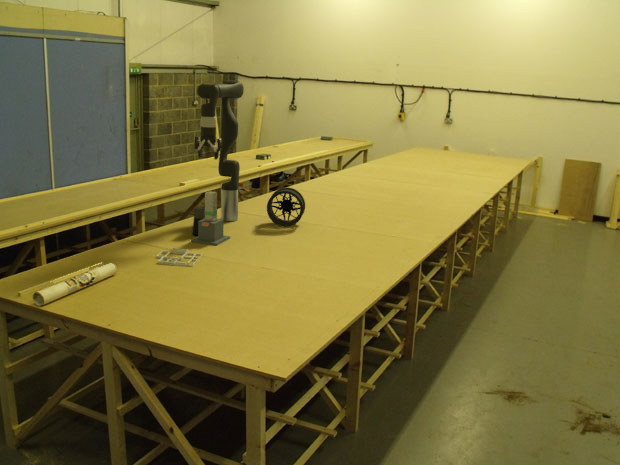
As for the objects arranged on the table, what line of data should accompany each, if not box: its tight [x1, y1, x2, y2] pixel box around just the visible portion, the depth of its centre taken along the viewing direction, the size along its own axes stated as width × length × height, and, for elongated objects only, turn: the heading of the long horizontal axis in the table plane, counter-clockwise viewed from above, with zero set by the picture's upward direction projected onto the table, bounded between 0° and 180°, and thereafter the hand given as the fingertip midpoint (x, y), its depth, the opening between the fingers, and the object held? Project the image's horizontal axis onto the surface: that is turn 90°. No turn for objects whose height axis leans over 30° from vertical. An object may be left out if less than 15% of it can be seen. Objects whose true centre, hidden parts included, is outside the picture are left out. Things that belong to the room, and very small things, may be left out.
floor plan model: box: [155, 247, 203, 267], centre depth 273 cm, size 19×25×2 cm
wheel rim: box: [266, 186, 306, 228], centre depth 333 cm, size 20×9×20 cm, turn 84°
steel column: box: [204, 190, 218, 222], centre depth 298 cm, size 4×4×16 cm
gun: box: [191, 206, 205, 235], centre depth 321 cm, size 7×29×15 cm, turn 177°
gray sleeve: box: [190, 218, 231, 246], centre depth 301 cm, size 14×14×10 cm
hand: (208, 158), depth 305 cm, fingers open, 8 cm apart
